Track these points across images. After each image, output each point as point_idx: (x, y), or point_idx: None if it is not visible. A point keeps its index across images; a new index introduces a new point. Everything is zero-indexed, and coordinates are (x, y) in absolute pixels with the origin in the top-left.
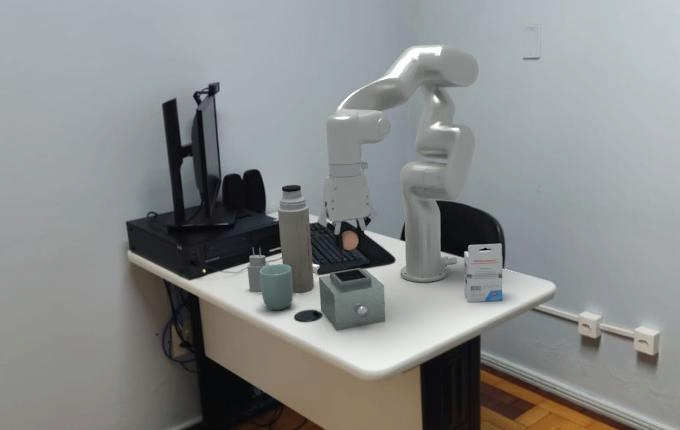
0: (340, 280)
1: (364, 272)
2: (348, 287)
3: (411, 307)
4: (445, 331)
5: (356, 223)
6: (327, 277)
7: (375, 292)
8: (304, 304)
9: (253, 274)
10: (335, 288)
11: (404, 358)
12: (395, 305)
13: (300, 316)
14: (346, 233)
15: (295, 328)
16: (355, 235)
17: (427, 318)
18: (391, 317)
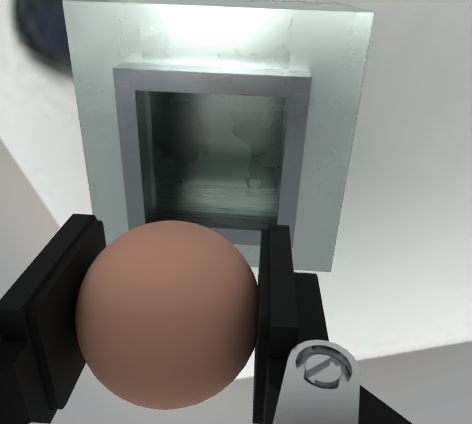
0: (140, 205)
1: (299, 163)
2: None
3: (459, 143)
4: (423, 323)
5: (278, 401)
6: (110, 39)
7: None
8: None
9: None
10: (118, 204)
11: (252, 375)
12: (421, 97)
13: (37, 11)
14: (119, 391)
15: (12, 108)
16: (211, 396)
17: (440, 240)
18: (346, 183)
